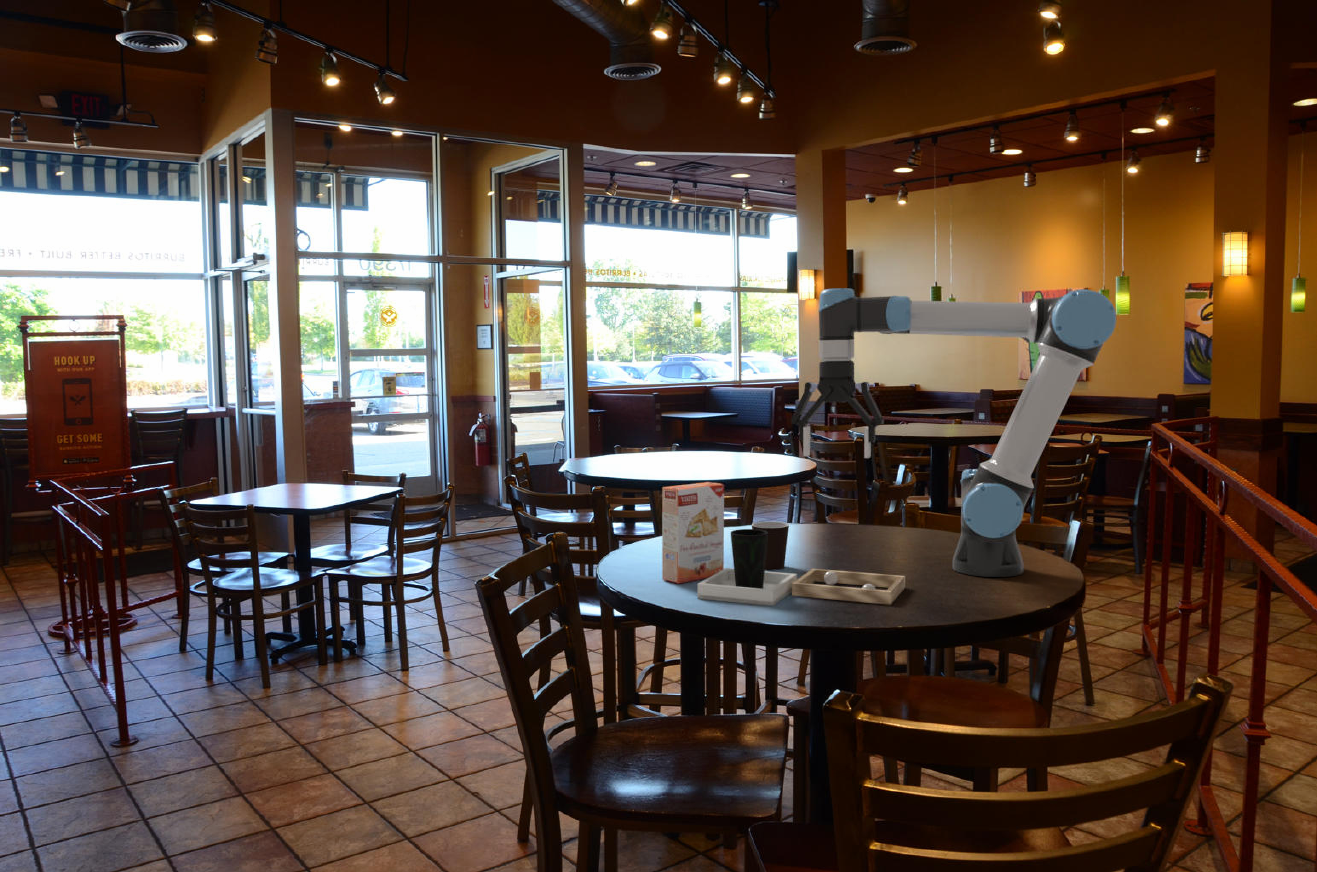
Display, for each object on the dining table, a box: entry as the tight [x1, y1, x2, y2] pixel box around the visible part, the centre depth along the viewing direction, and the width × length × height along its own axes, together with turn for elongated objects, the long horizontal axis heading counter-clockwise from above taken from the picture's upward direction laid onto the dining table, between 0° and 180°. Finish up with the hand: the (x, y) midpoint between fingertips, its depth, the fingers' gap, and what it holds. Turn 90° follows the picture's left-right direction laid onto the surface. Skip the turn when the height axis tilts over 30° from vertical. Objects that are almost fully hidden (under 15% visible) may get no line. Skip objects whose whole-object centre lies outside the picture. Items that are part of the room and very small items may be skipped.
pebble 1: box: [824, 571, 838, 586], centre depth 203 cm, size 3×3×3 cm
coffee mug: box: [751, 521, 790, 571], centre depth 223 cm, size 12×9×10 cm
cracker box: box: [661, 481, 725, 584], centre depth 212 cm, size 14×6×21 cm, turn 130°
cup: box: [730, 528, 768, 589], centre depth 197 cm, size 8×8×12 cm
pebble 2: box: [861, 584, 877, 590], centre depth 191 cm, size 3×3×3 cm
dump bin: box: [697, 567, 798, 607], centre depth 197 cm, size 16×16×3 cm
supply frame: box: [791, 568, 906, 606], centre depth 197 cm, size 20×15×2 cm
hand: (836, 456), depth 210 cm, fingers open, 13 cm apart
